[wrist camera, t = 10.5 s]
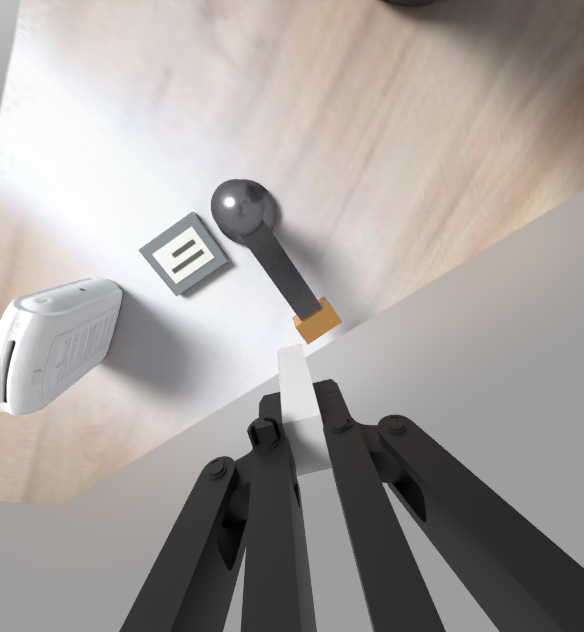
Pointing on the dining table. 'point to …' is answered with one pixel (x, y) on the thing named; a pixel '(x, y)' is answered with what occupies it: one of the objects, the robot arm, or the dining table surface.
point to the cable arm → (271, 255)
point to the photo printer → (54, 341)
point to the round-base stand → (268, 211)
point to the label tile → (184, 254)
